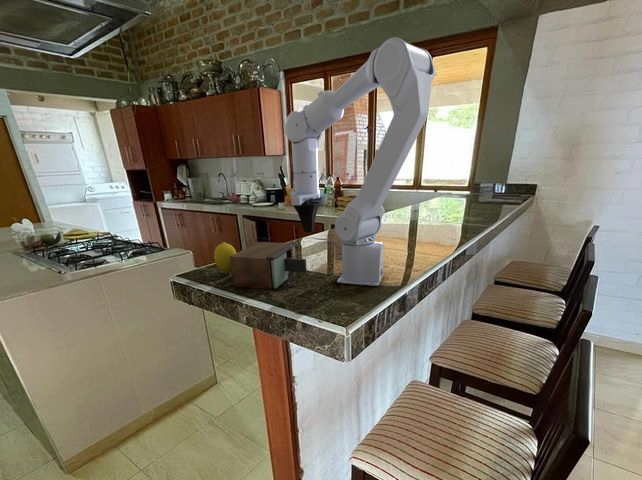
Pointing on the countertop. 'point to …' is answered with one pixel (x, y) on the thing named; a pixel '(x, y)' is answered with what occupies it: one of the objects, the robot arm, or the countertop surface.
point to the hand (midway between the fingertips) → (308, 231)
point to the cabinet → (258, 264)
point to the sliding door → (286, 268)
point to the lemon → (224, 256)
